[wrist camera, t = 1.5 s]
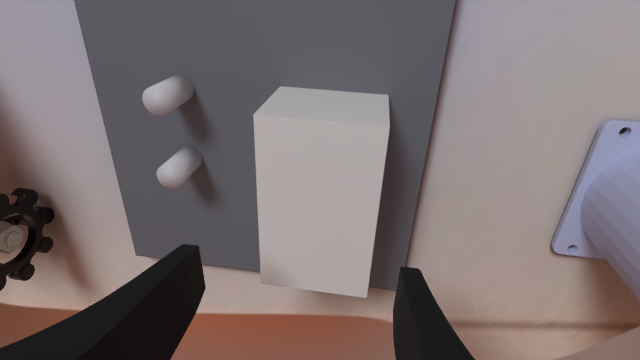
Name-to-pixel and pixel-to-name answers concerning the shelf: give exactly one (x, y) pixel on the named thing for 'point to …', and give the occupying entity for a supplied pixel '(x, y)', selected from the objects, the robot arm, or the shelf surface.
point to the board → (253, 107)
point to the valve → (9, 237)
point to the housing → (319, 187)
